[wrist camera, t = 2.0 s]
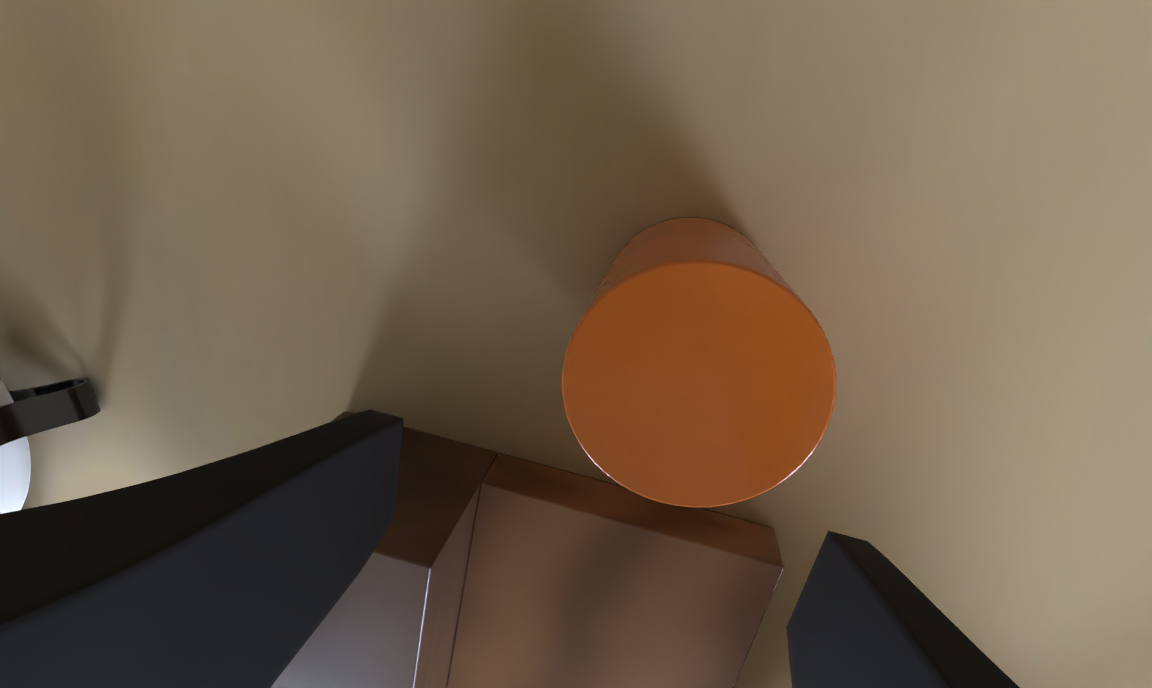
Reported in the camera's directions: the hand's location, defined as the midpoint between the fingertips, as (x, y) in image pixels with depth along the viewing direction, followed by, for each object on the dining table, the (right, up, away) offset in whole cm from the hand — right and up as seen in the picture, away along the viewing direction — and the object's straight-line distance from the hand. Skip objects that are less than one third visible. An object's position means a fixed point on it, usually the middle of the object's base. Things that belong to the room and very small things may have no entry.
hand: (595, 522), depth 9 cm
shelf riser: (-2, -7, +13) cm, 15 cm away
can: (+3, +4, +8) cm, 10 cm away
